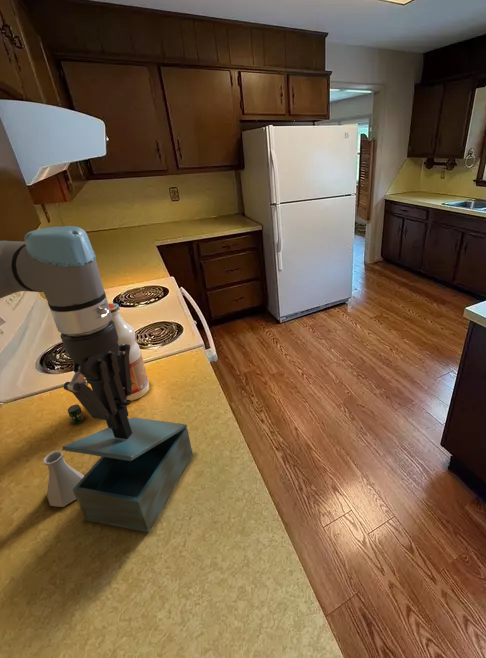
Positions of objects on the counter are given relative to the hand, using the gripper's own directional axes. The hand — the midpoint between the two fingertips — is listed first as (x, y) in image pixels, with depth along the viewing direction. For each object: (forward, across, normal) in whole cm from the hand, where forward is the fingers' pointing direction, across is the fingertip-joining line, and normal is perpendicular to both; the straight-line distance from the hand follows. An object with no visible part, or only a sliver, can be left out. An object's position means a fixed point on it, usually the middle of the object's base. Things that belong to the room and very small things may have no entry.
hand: (123, 435), depth 62 cm
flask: (+16, -3, +15) cm, 22 cm away
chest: (+15, +1, 0) cm, 15 cm away
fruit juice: (+16, +28, +22) cm, 39 cm away
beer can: (+16, +15, +29) cm, 36 cm away
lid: (+2, +2, 0) cm, 3 cm away
